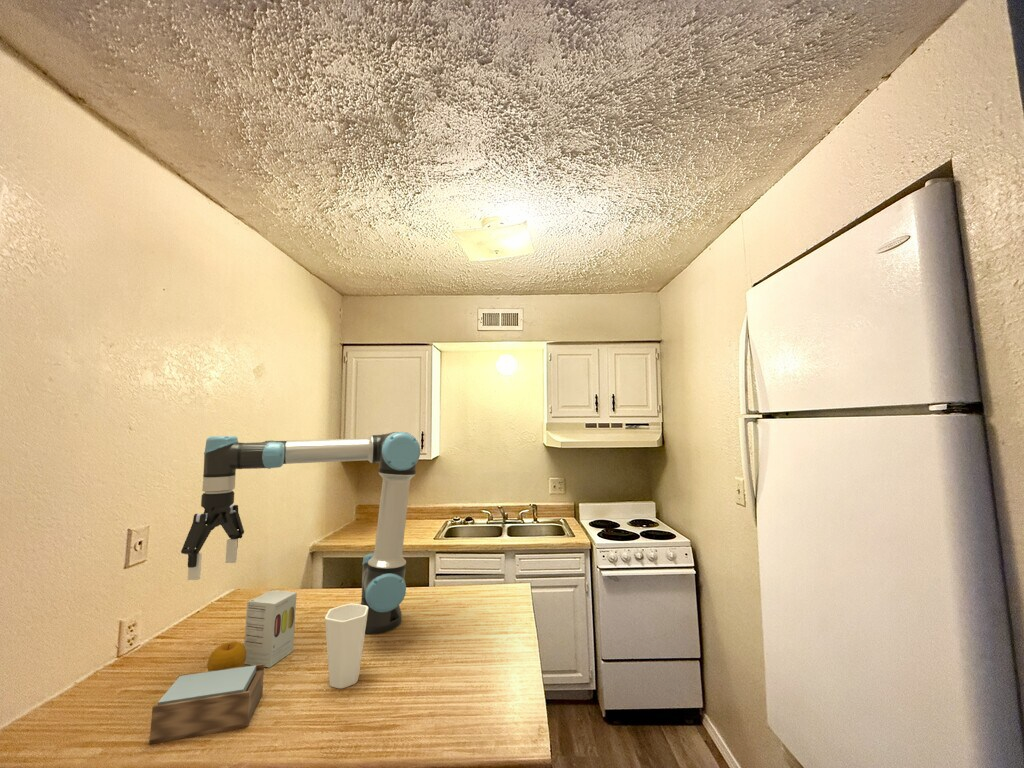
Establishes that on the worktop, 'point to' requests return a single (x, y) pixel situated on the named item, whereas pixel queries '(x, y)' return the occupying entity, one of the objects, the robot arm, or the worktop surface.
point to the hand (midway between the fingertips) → (213, 570)
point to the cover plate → (209, 684)
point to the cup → (345, 643)
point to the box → (206, 712)
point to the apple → (227, 656)
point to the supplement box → (270, 627)
